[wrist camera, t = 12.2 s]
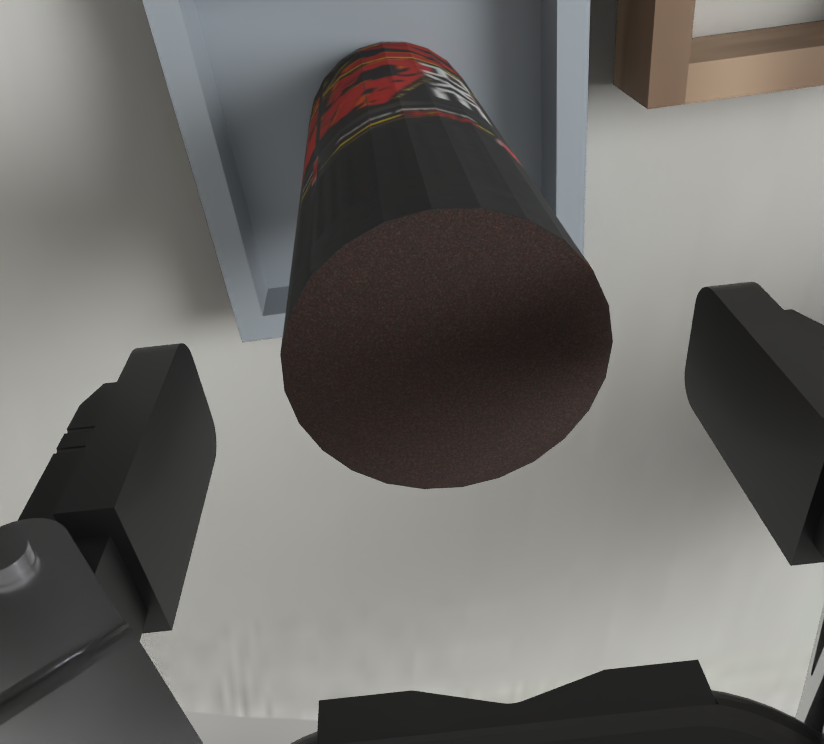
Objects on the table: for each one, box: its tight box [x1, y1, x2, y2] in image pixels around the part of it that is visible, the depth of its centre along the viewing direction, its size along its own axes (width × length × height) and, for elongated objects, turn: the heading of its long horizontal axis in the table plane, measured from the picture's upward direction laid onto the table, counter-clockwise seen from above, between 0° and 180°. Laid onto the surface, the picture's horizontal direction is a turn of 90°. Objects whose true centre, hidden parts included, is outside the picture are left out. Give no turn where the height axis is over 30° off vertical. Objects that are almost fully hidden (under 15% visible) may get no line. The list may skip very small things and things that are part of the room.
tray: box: [142, 0, 590, 342], centre depth 24 cm, size 13×13×3 cm
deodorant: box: [281, 42, 613, 489], centre depth 19 cm, size 6×6×15 cm
